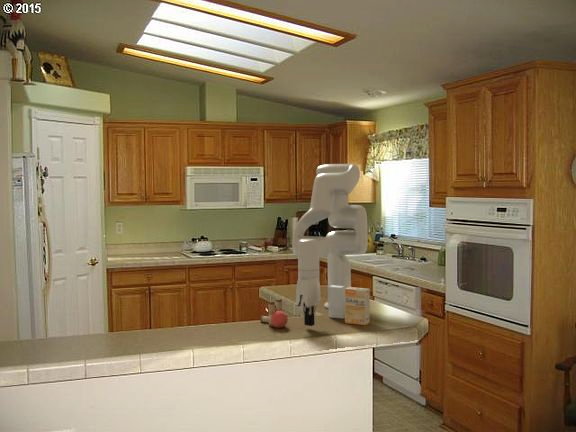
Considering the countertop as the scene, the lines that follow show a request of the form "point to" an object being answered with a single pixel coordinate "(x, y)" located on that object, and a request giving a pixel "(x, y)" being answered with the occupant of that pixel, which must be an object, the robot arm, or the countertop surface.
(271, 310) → the pin
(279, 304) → the pin
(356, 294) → the supplement box
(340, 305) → the skincare box
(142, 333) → the countertop surface
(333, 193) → the robot arm
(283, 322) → the ball
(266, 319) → the front pin
